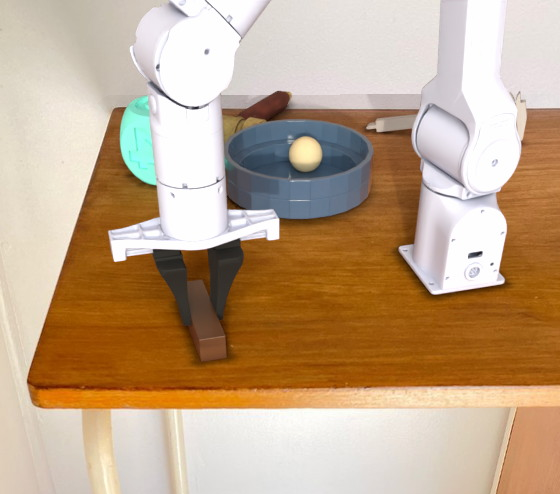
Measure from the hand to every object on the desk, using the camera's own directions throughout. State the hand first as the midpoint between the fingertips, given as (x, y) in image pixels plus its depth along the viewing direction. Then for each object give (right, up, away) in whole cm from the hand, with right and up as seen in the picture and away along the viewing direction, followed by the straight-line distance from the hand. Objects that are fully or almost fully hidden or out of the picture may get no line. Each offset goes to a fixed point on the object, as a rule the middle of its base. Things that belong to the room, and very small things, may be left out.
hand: (201, 317), depth 79 cm
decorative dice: (-7, +23, +26) cm, 35 cm away
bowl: (+9, +20, +22) cm, 31 cm away
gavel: (+4, +33, +35) cm, 49 cm away
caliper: (+29, +31, +33) cm, 54 cm away
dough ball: (+10, +24, +23) cm, 35 cm away
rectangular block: (0, -1, +1) cm, 1 cm away
